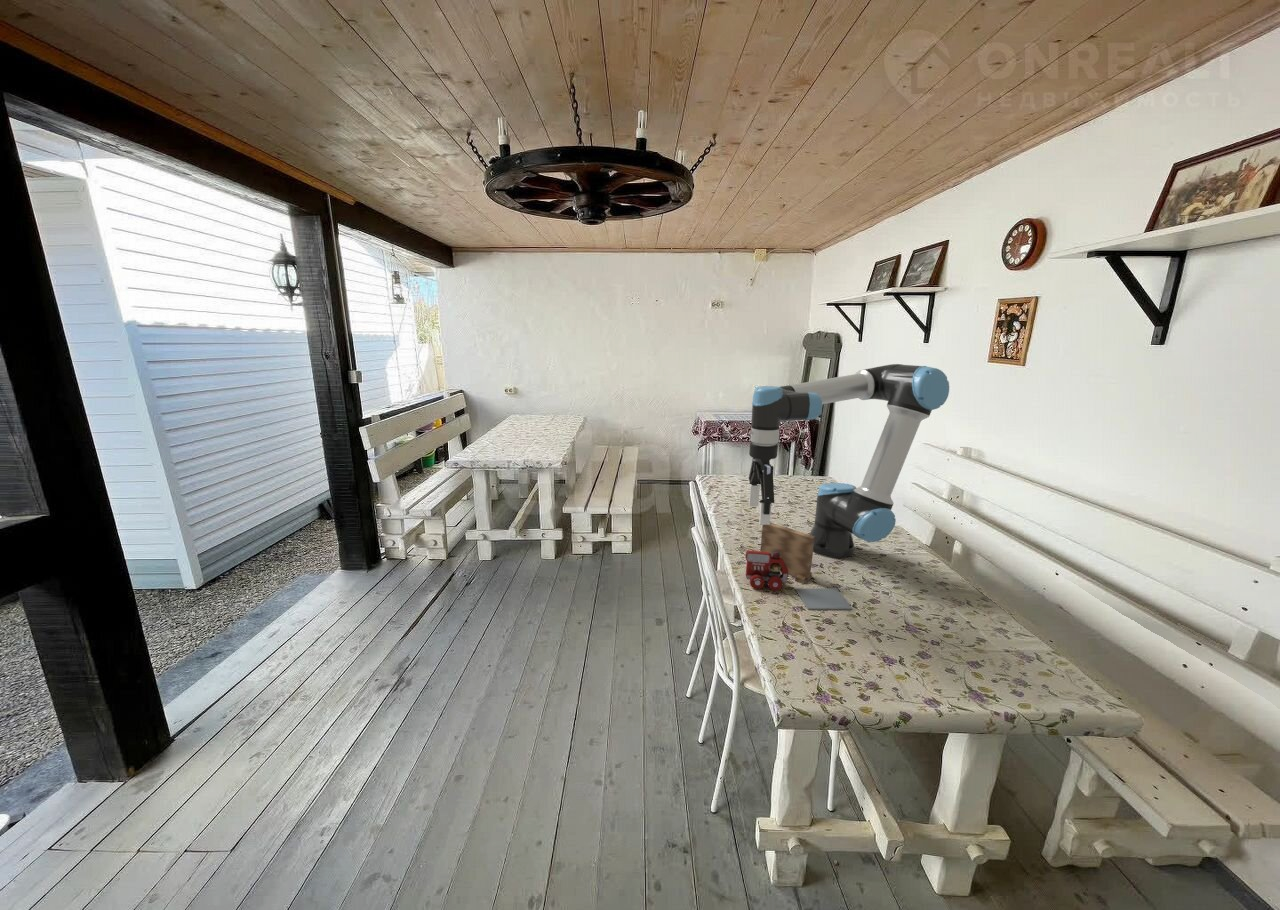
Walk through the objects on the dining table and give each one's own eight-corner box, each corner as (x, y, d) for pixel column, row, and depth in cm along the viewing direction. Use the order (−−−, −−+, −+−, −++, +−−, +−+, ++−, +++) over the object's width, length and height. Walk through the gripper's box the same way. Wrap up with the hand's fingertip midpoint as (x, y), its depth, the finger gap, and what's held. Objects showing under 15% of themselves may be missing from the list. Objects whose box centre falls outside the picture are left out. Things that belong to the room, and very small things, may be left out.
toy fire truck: (788, 592, 133) (791, 559, 131) (744, 588, 135) (746, 556, 132) (785, 580, 140) (788, 548, 137) (743, 576, 142) (745, 545, 139)
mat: (836, 589, 135) (836, 588, 135) (852, 609, 125) (852, 608, 125) (795, 589, 135) (795, 588, 135) (807, 609, 125) (807, 608, 125)
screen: (756, 565, 149) (759, 524, 145) (765, 558, 153) (769, 519, 149) (803, 583, 138) (808, 540, 134) (812, 576, 142) (817, 534, 138)
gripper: (741, 433, 140) (737, 499, 146) (760, 454, 116) (755, 532, 122) (766, 433, 140) (761, 499, 146) (791, 454, 116) (784, 532, 122)
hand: (758, 514), depth 134 cm, fingers open, 13 cm apart
